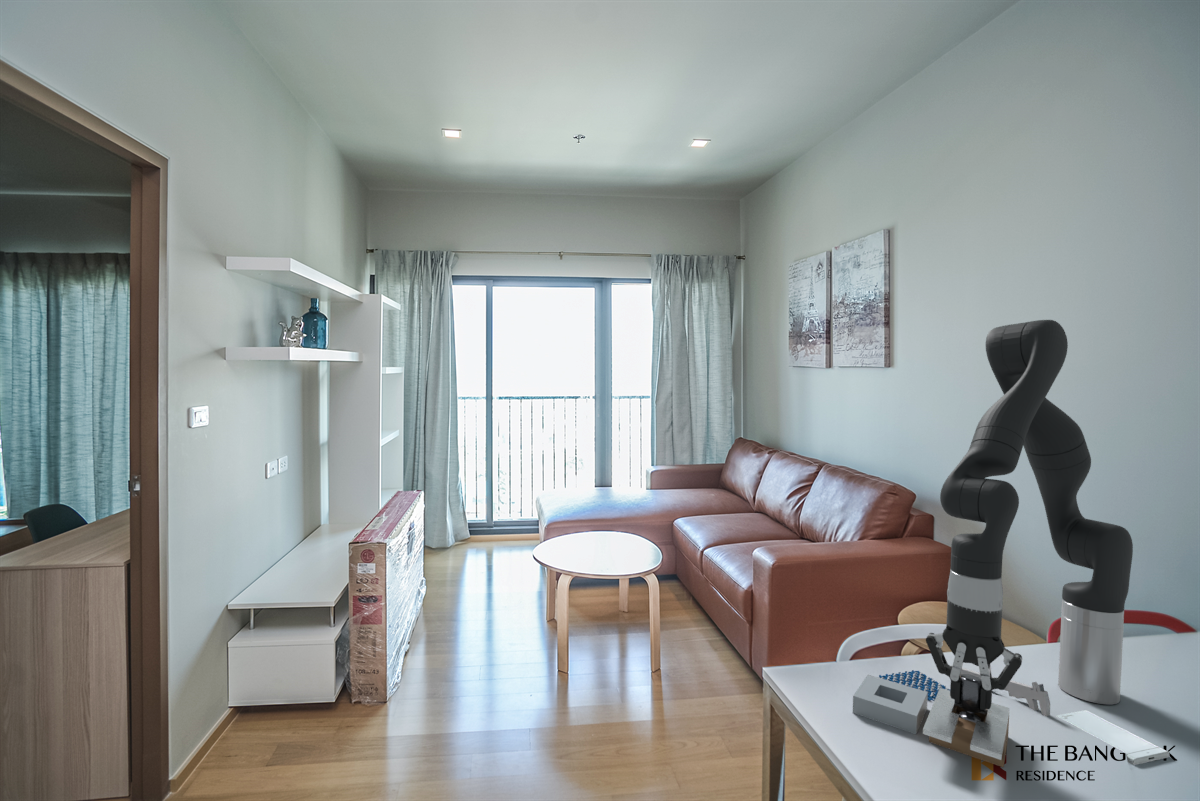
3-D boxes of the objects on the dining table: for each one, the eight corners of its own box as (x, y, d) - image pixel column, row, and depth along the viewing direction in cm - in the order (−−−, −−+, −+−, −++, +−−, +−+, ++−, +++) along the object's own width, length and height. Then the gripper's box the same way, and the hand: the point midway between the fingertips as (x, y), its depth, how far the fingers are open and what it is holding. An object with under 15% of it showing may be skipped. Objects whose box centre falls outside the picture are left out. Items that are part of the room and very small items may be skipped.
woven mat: (916, 677, 121) (916, 667, 121) (961, 704, 111) (962, 693, 111) (873, 683, 118) (874, 673, 118) (916, 712, 108) (916, 701, 108)
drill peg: (959, 731, 99) (961, 672, 99) (980, 738, 97) (983, 678, 97) (957, 739, 97) (959, 679, 97) (978, 747, 95) (981, 685, 95)
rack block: (867, 695, 112) (867, 674, 112) (926, 714, 106) (927, 692, 106) (852, 718, 104) (853, 695, 104) (916, 740, 98) (916, 716, 98)
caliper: (1050, 722, 105) (1051, 687, 105) (1045, 723, 105) (1047, 688, 104) (949, 669, 124) (950, 639, 124) (945, 669, 124) (946, 639, 124)
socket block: (938, 720, 104) (939, 692, 104) (1007, 742, 98) (1009, 712, 98) (928, 747, 96) (929, 717, 96) (1003, 773, 90) (1004, 741, 90)
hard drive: (1053, 715, 105) (1133, 758, 93) (1086, 709, 107) (1169, 750, 95) (1052, 724, 105) (1133, 768, 93) (1086, 718, 107) (1169, 760, 95)
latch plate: (939, 692, 104) (940, 670, 104) (1009, 712, 98) (1010, 689, 98) (922, 733, 91) (923, 709, 91) (1001, 760, 85) (1002, 734, 85)
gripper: (1028, 604, 95) (1024, 711, 96) (929, 584, 104) (925, 682, 104) (1026, 618, 89) (1021, 732, 90) (921, 596, 98) (917, 700, 98)
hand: (970, 705), depth 97 cm, fingers closed on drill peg, 3 cm apart
